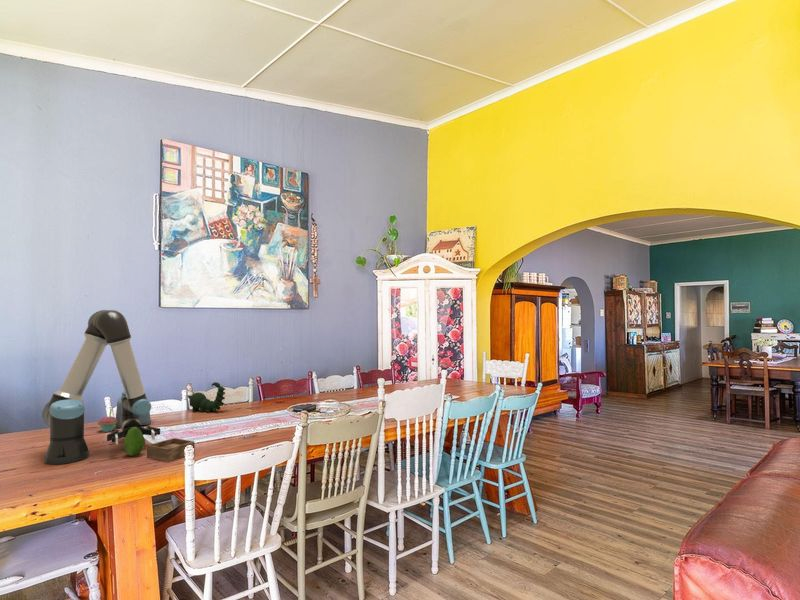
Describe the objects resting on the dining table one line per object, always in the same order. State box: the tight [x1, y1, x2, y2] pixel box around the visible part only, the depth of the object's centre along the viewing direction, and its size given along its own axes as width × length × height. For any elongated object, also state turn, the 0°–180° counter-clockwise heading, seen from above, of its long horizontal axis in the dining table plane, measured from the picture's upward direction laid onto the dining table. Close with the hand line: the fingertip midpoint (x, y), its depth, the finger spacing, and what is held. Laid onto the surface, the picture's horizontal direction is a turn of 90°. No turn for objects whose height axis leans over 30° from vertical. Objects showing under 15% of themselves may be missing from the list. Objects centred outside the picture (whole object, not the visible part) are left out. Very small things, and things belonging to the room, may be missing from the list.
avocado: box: [123, 427, 146, 456], centre depth 208 cm, size 8×8×12 cm
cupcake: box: [97, 407, 118, 433], centre depth 251 cm, size 9×8×12 cm
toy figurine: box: [186, 381, 226, 413], centre depth 296 cm, size 9×19×25 cm
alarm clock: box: [115, 396, 152, 429], centre depth 265 cm, size 16×16×16 cm
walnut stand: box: [146, 437, 195, 463], centre depth 208 cm, size 13×13×5 cm
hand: (135, 438), depth 206 cm, fingers open, 13 cm apart
